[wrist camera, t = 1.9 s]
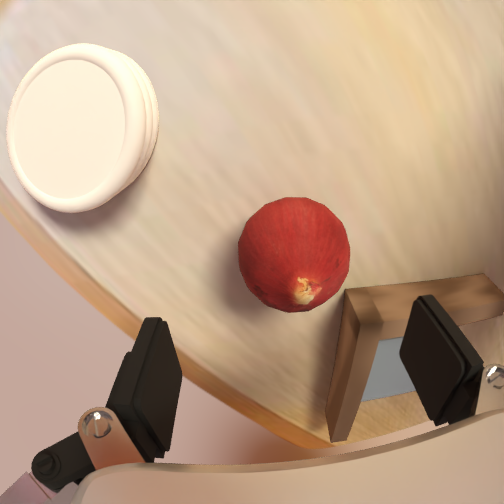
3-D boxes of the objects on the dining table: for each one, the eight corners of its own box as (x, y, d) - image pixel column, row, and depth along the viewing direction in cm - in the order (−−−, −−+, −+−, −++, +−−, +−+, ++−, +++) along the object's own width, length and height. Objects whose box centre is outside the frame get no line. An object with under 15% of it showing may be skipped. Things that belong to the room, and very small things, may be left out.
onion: (327, 266, 20) (359, 349, 13) (242, 268, 21) (237, 355, 13) (334, 182, 18) (385, 236, 11) (239, 182, 18) (230, 237, 11)
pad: (445, 327, 23) (446, 329, 23) (419, 387, 28) (419, 389, 27) (358, 341, 24) (359, 343, 23) (343, 402, 28) (344, 404, 28)
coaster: (15, 118, 15) (-16, 126, 12) (112, 20, 13) (86, 8, 10) (82, 223, 19) (57, 245, 16) (193, 140, 17) (179, 148, 14)
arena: (484, 273, 21) (508, 299, 17) (434, 390, 28) (446, 415, 25) (345, 288, 21) (360, 324, 18) (325, 411, 29) (330, 442, 25)
